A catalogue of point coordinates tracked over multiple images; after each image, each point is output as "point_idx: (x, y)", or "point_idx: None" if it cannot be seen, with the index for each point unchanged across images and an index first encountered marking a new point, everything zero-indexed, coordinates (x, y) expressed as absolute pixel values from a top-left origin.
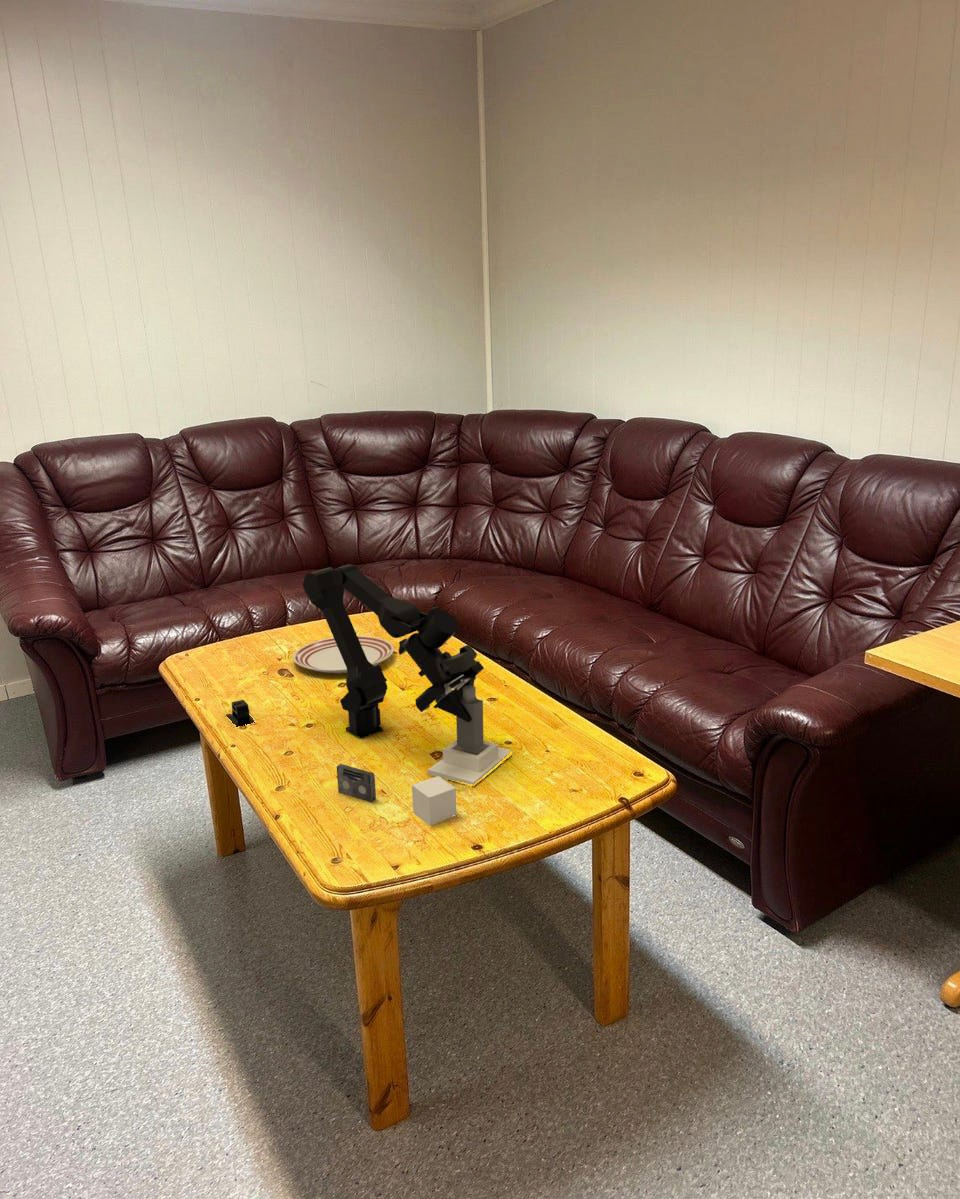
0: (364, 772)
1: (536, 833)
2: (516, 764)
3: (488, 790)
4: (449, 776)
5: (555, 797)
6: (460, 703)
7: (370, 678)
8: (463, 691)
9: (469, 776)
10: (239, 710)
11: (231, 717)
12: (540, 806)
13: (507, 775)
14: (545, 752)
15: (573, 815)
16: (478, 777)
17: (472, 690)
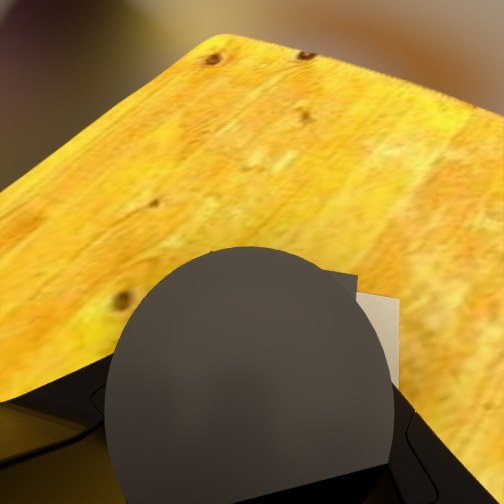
0: None
1: (495, 123)
2: (234, 243)
3: (386, 261)
4: (397, 387)
5: (346, 134)
6: (402, 440)
7: None
8: (339, 482)
9: (374, 321)
10: None
11: None
12: (394, 146)
13: (295, 245)
14: (162, 205)
15: (394, 94)
16: (367, 294)
17: (320, 273)
